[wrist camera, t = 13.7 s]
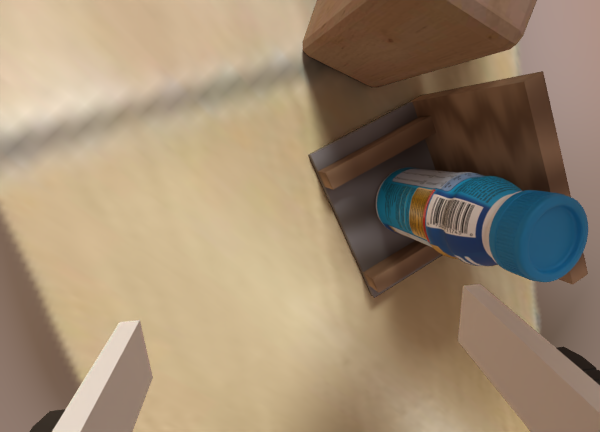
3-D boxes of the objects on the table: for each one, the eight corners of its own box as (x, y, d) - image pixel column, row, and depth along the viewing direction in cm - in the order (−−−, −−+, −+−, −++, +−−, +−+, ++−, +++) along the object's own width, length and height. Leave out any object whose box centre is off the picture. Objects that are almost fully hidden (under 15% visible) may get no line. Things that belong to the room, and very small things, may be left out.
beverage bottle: (410, 151, 45) (576, 157, 26) (443, 203, 47) (613, 243, 29) (359, 196, 44) (492, 237, 25) (395, 246, 46) (539, 317, 28)
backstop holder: (308, 154, 42) (378, 161, 27) (421, 95, 45) (543, 71, 30) (371, 295, 48) (457, 365, 33) (467, 234, 51) (588, 273, 36)
